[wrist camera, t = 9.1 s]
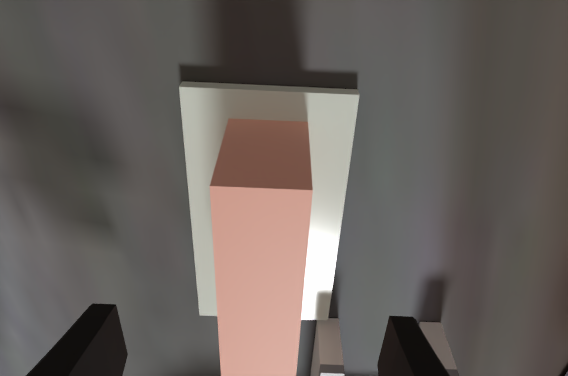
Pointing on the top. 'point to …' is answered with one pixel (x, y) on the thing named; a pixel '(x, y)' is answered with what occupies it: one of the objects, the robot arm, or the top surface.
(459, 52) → the top surface
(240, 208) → the salmon pink rectangular prism
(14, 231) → the top surface
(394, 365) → the robot arm
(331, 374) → the white u-shaped piece
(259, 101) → the white rectangular board
